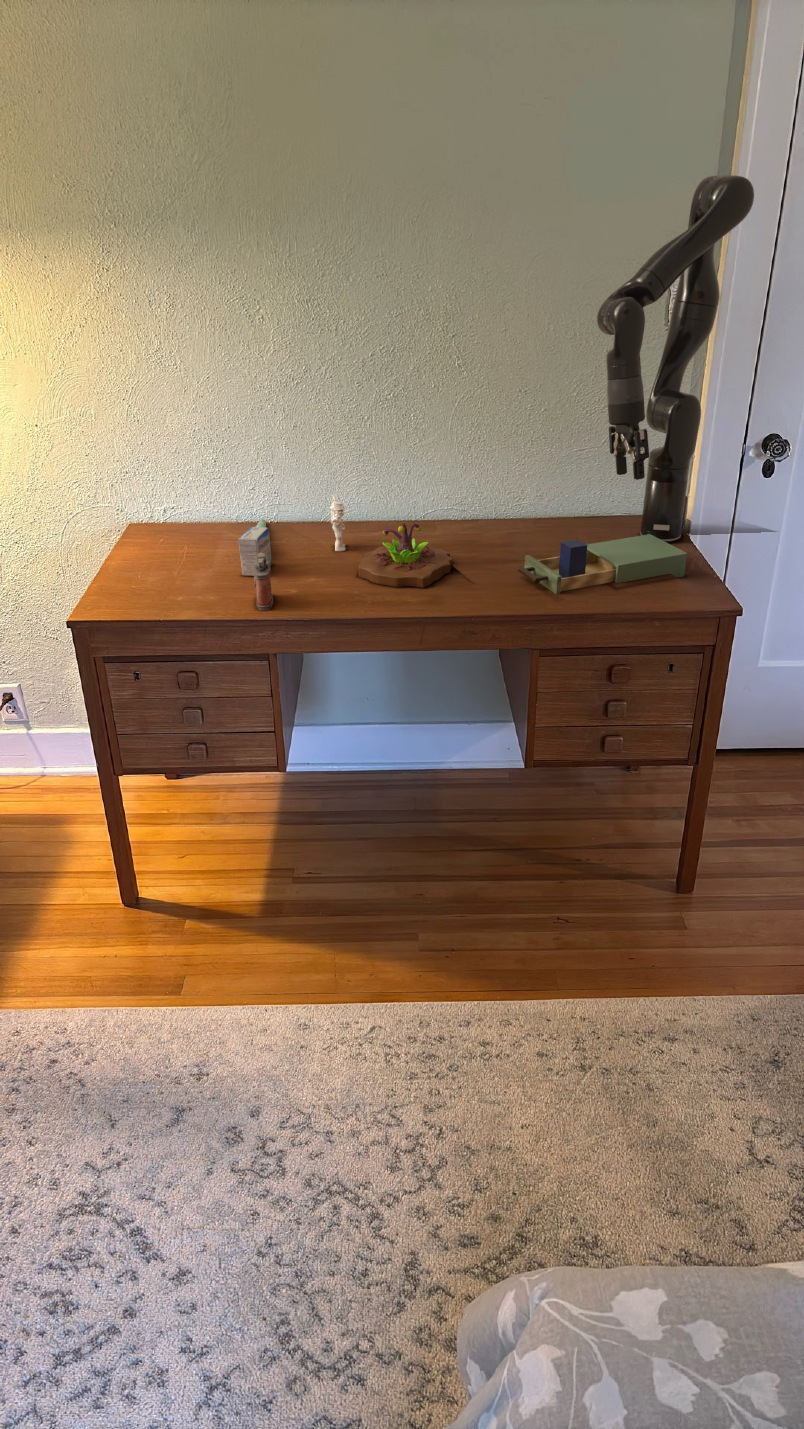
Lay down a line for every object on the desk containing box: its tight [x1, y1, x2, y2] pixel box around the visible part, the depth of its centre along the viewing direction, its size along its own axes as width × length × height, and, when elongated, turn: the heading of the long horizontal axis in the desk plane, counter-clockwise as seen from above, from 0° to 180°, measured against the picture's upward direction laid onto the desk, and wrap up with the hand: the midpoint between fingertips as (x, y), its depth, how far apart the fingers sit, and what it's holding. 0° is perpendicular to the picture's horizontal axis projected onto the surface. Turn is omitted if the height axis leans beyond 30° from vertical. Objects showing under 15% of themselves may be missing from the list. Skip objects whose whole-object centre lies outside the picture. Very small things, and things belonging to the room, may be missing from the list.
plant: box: [357, 523, 453, 589], centre depth 212 cm, size 20×20×11 cm
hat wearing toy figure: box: [329, 495, 347, 552], centre depth 225 cm, size 9×4×12 cm, turn 1°
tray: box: [517, 551, 616, 595], centre depth 206 cm, size 21×14×4 cm, turn 112°
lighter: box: [253, 553, 274, 611], centre depth 198 cm, size 8×3×10 cm, turn 5°
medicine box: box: [238, 526, 273, 577], centre depth 214 cm, size 8×4×9 cm, turn 168°
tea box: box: [559, 539, 587, 578], centre depth 205 cm, size 4×4×7 cm
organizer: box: [586, 534, 688, 584], centre depth 211 cm, size 17×14×5 cm
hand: (630, 476), depth 212 cm, fingers open, 8 cm apart
